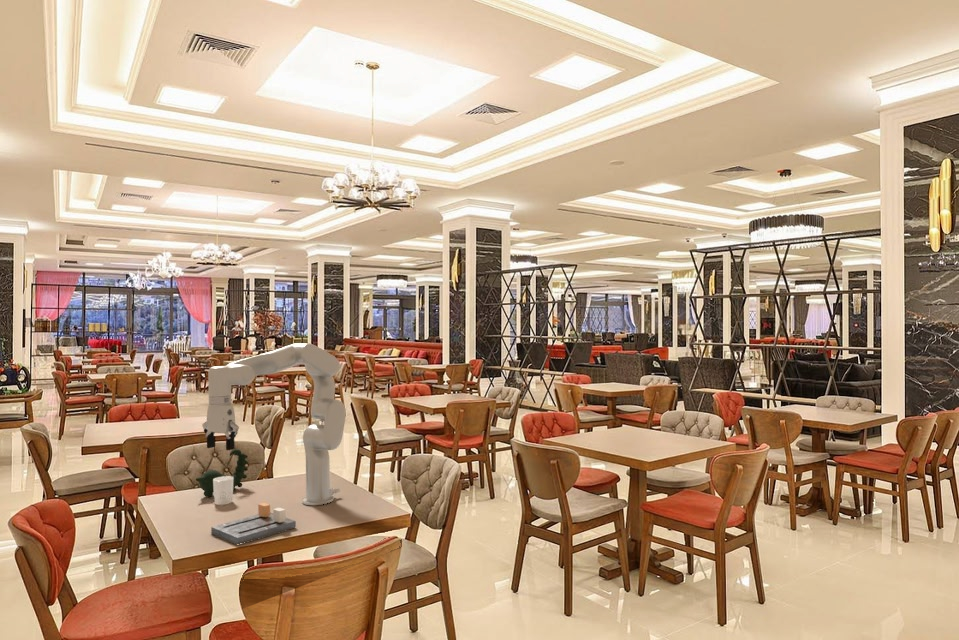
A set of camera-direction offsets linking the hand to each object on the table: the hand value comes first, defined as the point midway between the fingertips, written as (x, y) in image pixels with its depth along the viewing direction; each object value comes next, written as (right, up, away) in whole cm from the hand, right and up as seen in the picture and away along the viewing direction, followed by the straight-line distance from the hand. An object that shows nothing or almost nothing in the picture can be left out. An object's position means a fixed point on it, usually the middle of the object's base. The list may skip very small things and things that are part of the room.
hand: (220, 448), depth 223 cm
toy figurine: (-19, -30, +48) cm, 60 cm away
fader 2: (+21, -27, -1) cm, 34 cm away
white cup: (-13, -29, +33) cm, 46 cm away
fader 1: (+14, -27, +5) cm, 31 cm away
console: (+13, -29, -3) cm, 32 cm away
